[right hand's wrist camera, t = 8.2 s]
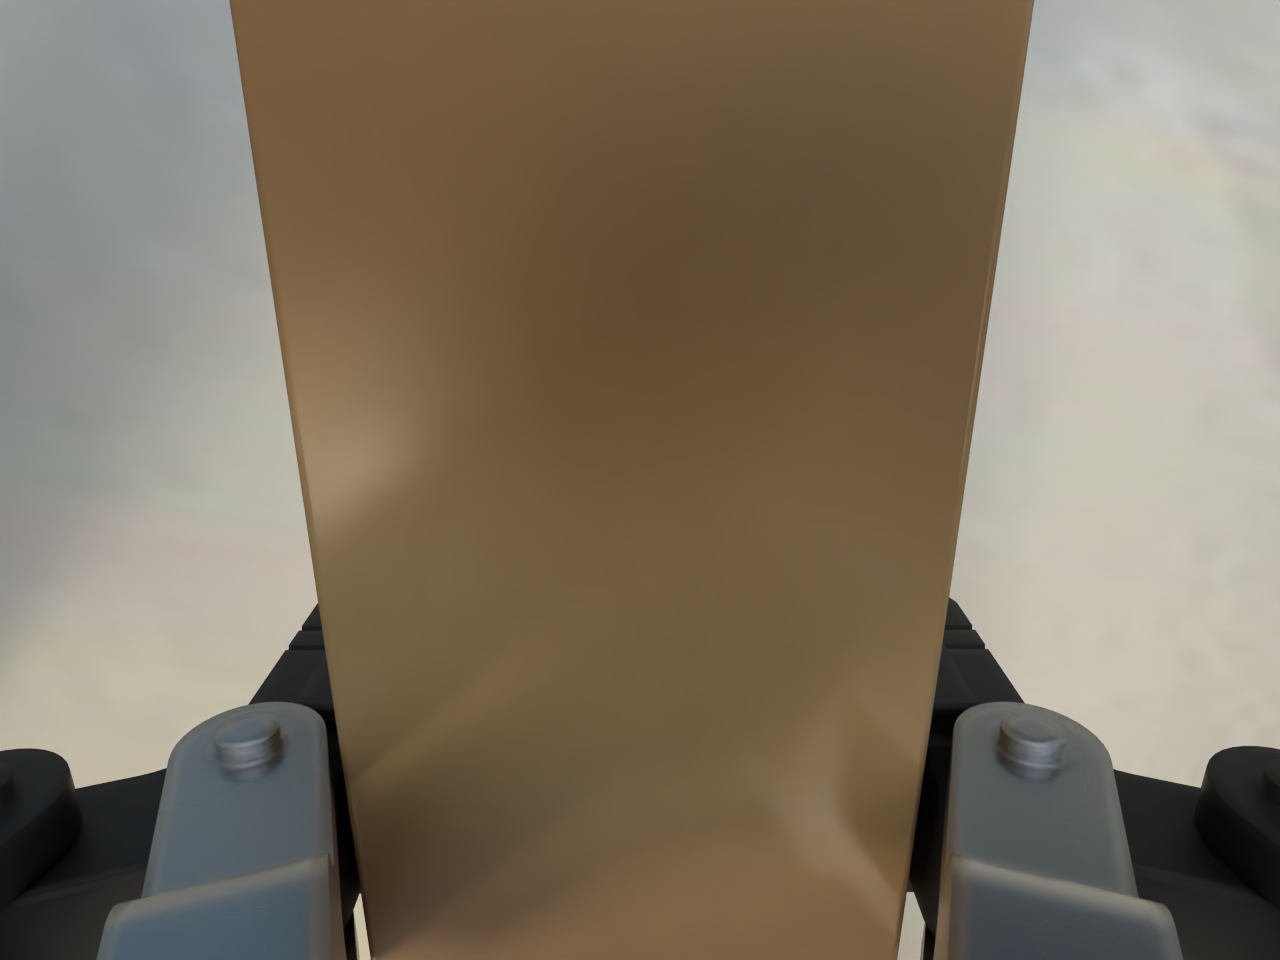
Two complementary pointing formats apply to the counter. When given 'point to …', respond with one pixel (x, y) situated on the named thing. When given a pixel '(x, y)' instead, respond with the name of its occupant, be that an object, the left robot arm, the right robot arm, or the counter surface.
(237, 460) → the counter surface
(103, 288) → the counter surface
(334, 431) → the beam
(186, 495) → the counter surface
